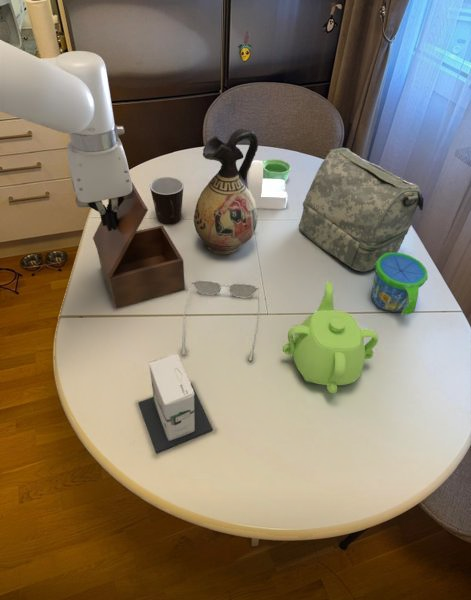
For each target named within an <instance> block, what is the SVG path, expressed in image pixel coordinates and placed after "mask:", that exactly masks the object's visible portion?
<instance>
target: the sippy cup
mask: <svg viewBox="0 0 471 600" xmlns="http://www.w3.org/2000/svg"><path fill="white" fill-rule="evenodd" d="M375 267H376V268H375V275H374V280H373V285H372V290H371V300H372V301H373V303H374V304H375V305H376V306H377V308H378V309H382V310H385V311H388V312H392V313H395V312H397V311H400V310H401V312H400V314H401V315H403V316H406V315H407V316H408V315H412V314H413V313H414V312H415V311H416V306H417V303H418V298H419V292H420V291H419V289H420V288H421V287H422V286H424V284H425V283H426V282H427V281H428V278H429V275H428V270H427V269H426V267H425V265H424V264H423V263H422V262H421V261H419V259H417V258H415V257H413V256H411V255H409V254H405V253H402V252H397V253H391V252H390V253H383V254H382V255H381V257H380V258H379V259H378V261H376V265H375Z"/></svg>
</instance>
